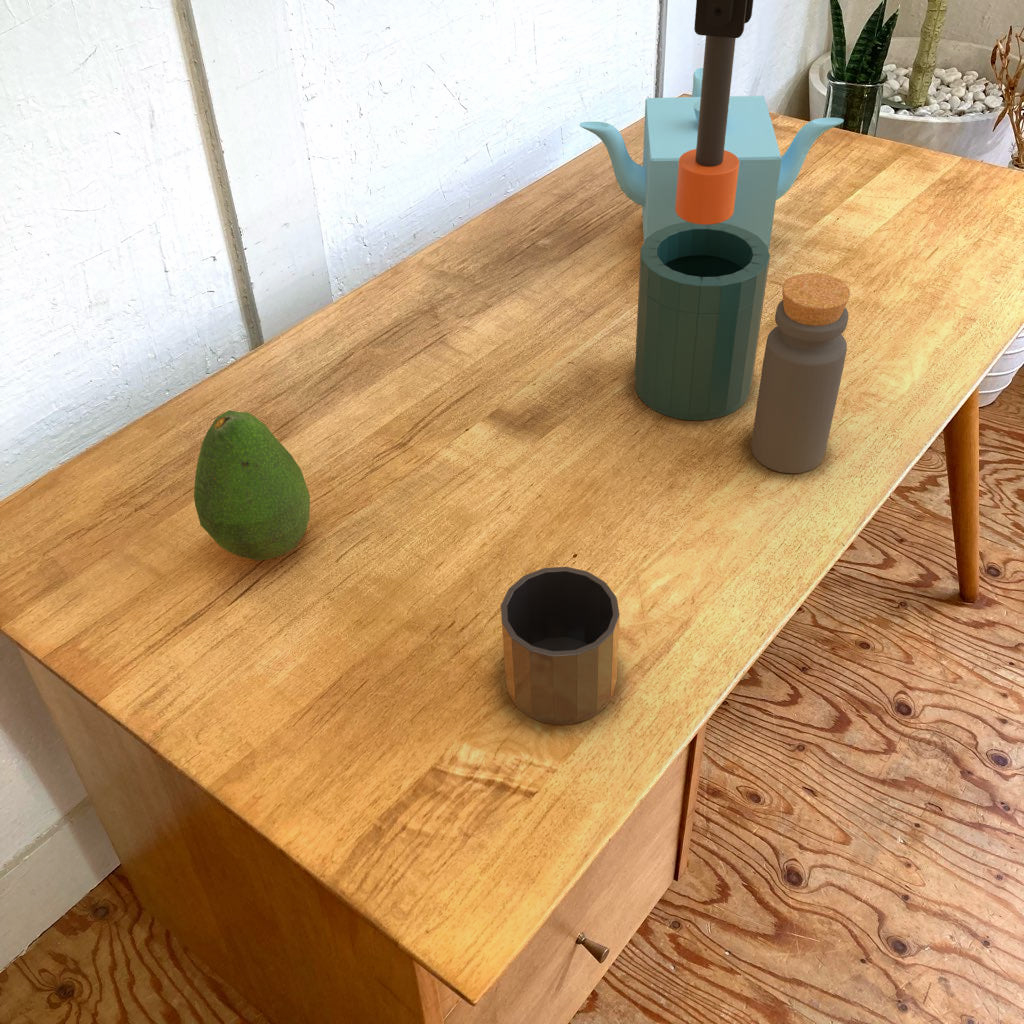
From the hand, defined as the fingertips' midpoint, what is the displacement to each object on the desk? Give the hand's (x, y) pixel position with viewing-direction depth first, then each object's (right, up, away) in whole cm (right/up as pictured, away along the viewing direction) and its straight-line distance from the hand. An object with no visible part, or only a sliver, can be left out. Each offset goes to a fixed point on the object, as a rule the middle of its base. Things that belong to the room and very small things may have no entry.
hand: (722, 25), depth 71 cm
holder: (-11, -44, -1) cm, 45 cm away
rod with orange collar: (0, -10, +9) cm, 14 cm away
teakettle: (+5, -4, +40) cm, 40 cm away
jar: (+2, -22, +21) cm, 30 cm away
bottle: (+8, -28, +14) cm, 32 cm away
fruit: (-33, -35, +9) cm, 49 cm away
